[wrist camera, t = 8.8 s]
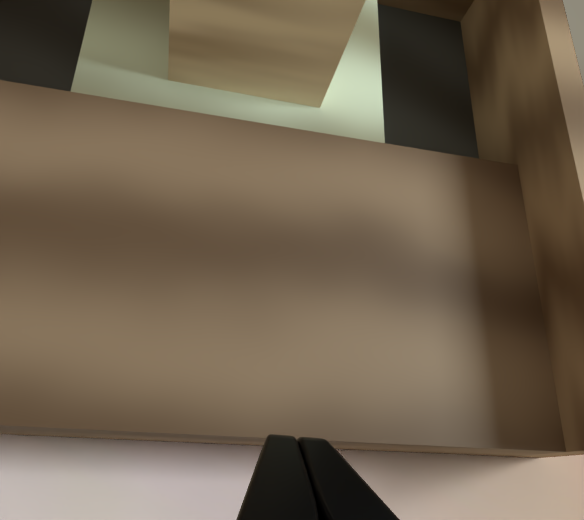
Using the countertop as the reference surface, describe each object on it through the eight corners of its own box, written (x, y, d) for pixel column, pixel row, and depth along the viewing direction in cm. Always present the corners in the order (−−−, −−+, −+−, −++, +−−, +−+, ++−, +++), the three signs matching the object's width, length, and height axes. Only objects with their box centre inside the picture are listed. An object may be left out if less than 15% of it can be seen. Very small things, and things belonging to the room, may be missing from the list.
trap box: (540, 457, 21) (672, 447, 16) (-245, 423, 16) (-453, 390, 10) (474, 15, 30) (541, -86, 25) (-32, -97, 25) (-84, -255, 20)
